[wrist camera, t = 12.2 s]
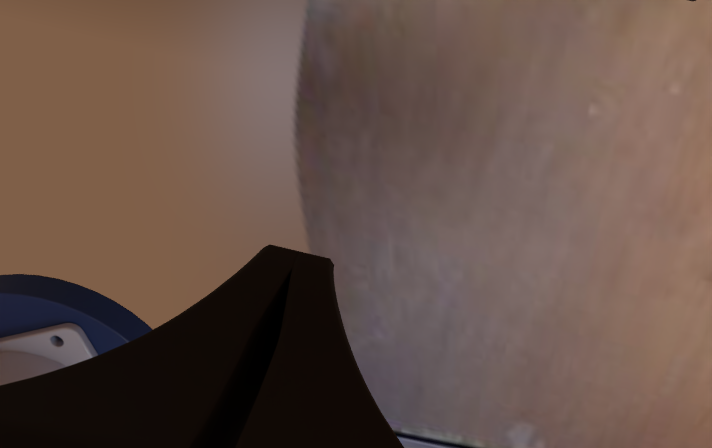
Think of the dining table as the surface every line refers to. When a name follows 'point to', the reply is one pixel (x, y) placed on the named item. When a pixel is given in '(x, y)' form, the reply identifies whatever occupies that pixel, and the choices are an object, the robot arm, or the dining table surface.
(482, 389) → the dining table surface
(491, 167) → the dining table surface
